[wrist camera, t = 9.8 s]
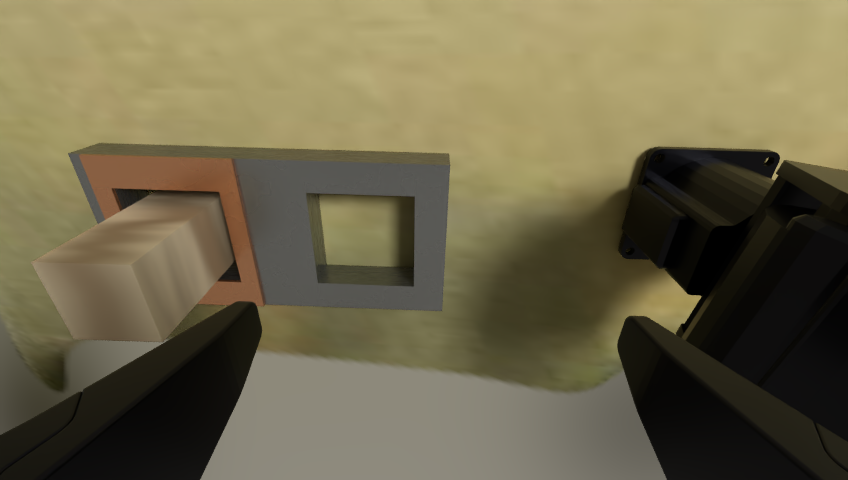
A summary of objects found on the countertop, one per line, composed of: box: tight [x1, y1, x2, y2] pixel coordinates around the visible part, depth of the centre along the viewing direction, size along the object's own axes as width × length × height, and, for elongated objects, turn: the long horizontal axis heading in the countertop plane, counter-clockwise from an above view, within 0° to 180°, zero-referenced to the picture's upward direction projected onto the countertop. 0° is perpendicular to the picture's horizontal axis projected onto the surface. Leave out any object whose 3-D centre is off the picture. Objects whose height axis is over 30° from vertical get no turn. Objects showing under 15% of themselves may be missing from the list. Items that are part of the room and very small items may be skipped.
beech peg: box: [31, 190, 236, 342], centre depth 20 cm, size 4×4×8 cm
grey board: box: [68, 143, 450, 311], centre depth 22 cm, size 19×9×2 cm, turn 89°
